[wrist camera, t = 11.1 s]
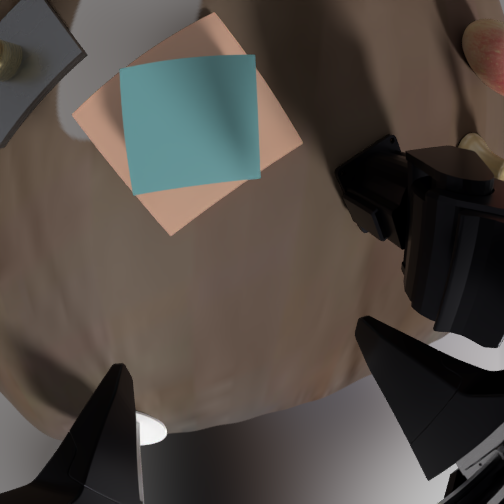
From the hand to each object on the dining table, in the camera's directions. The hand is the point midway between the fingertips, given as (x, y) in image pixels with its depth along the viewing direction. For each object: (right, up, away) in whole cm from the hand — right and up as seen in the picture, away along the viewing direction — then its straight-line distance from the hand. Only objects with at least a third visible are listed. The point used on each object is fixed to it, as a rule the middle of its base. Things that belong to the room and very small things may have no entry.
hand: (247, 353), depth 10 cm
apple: (+25, +26, +7) cm, 36 cm away
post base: (-17, +17, +1) cm, 24 cm away
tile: (-4, +12, +7) cm, 14 cm away
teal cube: (-4, +12, +6) cm, 14 cm away
